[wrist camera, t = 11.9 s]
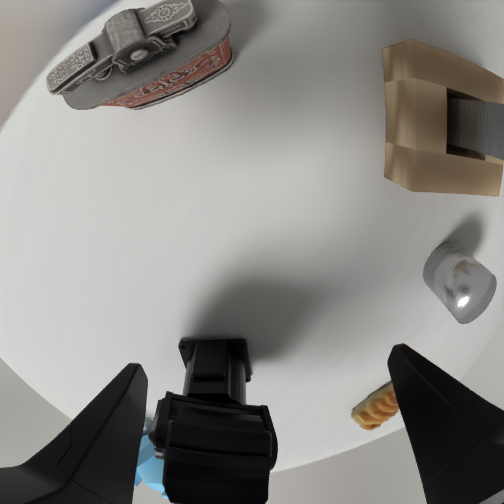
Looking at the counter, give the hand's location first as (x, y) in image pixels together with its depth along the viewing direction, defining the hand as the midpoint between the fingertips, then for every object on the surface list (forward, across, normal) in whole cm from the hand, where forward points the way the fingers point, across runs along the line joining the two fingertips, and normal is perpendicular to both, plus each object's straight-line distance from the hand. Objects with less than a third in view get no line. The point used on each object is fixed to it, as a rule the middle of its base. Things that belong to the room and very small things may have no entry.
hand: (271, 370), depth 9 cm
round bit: (+13, -19, +5) cm, 23 cm away
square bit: (+12, -15, -9) cm, 21 cm away
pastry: (+14, -17, +27) cm, 35 cm away
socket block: (+13, -15, -9) cm, 22 cm away
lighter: (+13, +5, -11) cm, 18 cm away
